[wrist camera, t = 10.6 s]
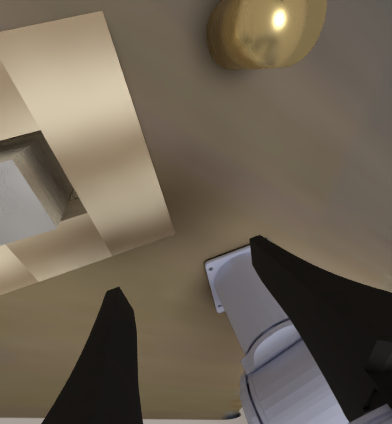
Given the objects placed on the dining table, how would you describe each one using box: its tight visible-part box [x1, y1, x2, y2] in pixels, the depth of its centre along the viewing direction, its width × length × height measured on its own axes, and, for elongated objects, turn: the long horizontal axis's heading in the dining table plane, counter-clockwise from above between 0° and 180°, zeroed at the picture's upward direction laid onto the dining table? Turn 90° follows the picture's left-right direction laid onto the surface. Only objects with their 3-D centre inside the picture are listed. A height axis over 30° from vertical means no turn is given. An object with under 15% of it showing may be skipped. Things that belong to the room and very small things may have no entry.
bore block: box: [0, 11, 175, 295], centre depth 15 cm, size 14×16×3 cm
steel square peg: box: [0, 133, 73, 246], centre depth 14 cm, size 4×4×6 cm
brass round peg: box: [207, 0, 327, 70], centre depth 13 cm, size 4×4×6 cm
